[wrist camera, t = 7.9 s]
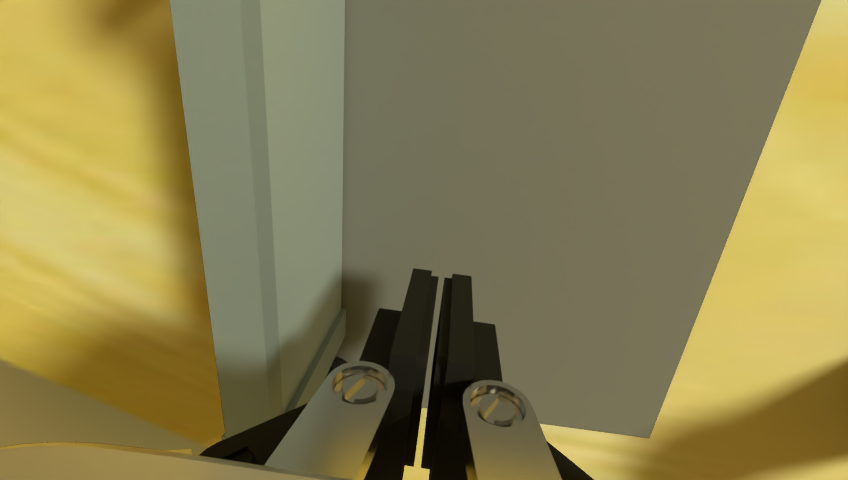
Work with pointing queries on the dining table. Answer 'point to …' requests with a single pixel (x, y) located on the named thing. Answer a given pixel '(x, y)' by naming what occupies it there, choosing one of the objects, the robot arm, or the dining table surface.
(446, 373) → the robot arm
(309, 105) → the gate
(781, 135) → the dining table surface
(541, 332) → the mat
